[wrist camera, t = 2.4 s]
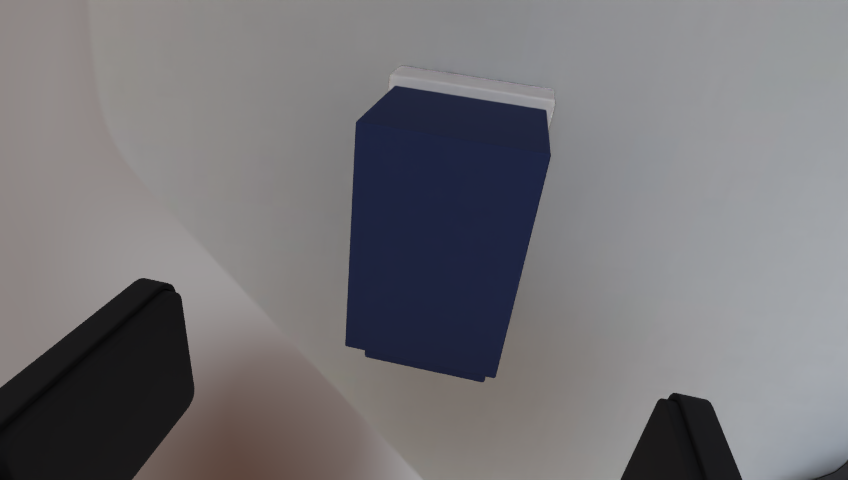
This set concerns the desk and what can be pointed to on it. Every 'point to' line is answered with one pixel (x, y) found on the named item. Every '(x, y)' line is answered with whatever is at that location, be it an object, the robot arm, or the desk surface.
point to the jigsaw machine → (838, 474)
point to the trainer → (443, 218)
